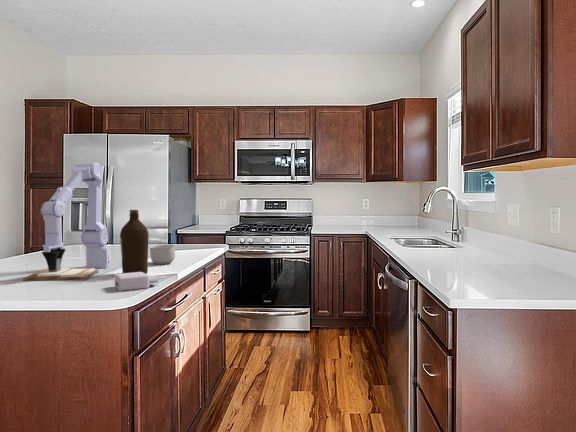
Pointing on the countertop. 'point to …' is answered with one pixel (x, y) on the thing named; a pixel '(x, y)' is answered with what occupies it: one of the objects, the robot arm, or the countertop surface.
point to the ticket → (77, 272)
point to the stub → (54, 272)
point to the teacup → (162, 254)
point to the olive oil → (134, 245)
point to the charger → (134, 280)
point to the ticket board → (56, 277)
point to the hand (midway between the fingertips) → (54, 268)
